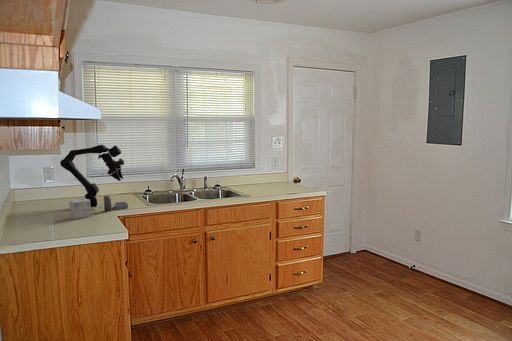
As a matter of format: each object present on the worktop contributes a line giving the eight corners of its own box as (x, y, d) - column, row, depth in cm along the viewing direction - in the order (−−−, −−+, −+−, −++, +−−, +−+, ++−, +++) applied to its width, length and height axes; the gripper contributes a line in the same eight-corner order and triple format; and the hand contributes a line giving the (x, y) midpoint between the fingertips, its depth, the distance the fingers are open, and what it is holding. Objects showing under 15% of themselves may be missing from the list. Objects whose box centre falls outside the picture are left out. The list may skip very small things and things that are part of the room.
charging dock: (115, 209, 272) (114, 204, 272) (113, 206, 280) (113, 202, 279) (128, 208, 276) (127, 203, 275) (126, 205, 283) (126, 201, 283)
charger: (104, 211, 265) (103, 196, 264) (104, 210, 269) (103, 195, 268) (111, 211, 267) (111, 195, 266) (111, 209, 271) (110, 194, 270)
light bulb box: (86, 214, 259) (85, 198, 257) (91, 216, 255) (90, 199, 253) (69, 217, 251) (68, 200, 249) (75, 219, 246) (73, 202, 245)
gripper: (116, 156, 271) (129, 175, 274) (121, 153, 289) (133, 171, 293) (101, 164, 271) (115, 184, 274) (107, 161, 289) (120, 179, 292)
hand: (121, 179), depth 283 cm, fingers open, 9 cm apart
